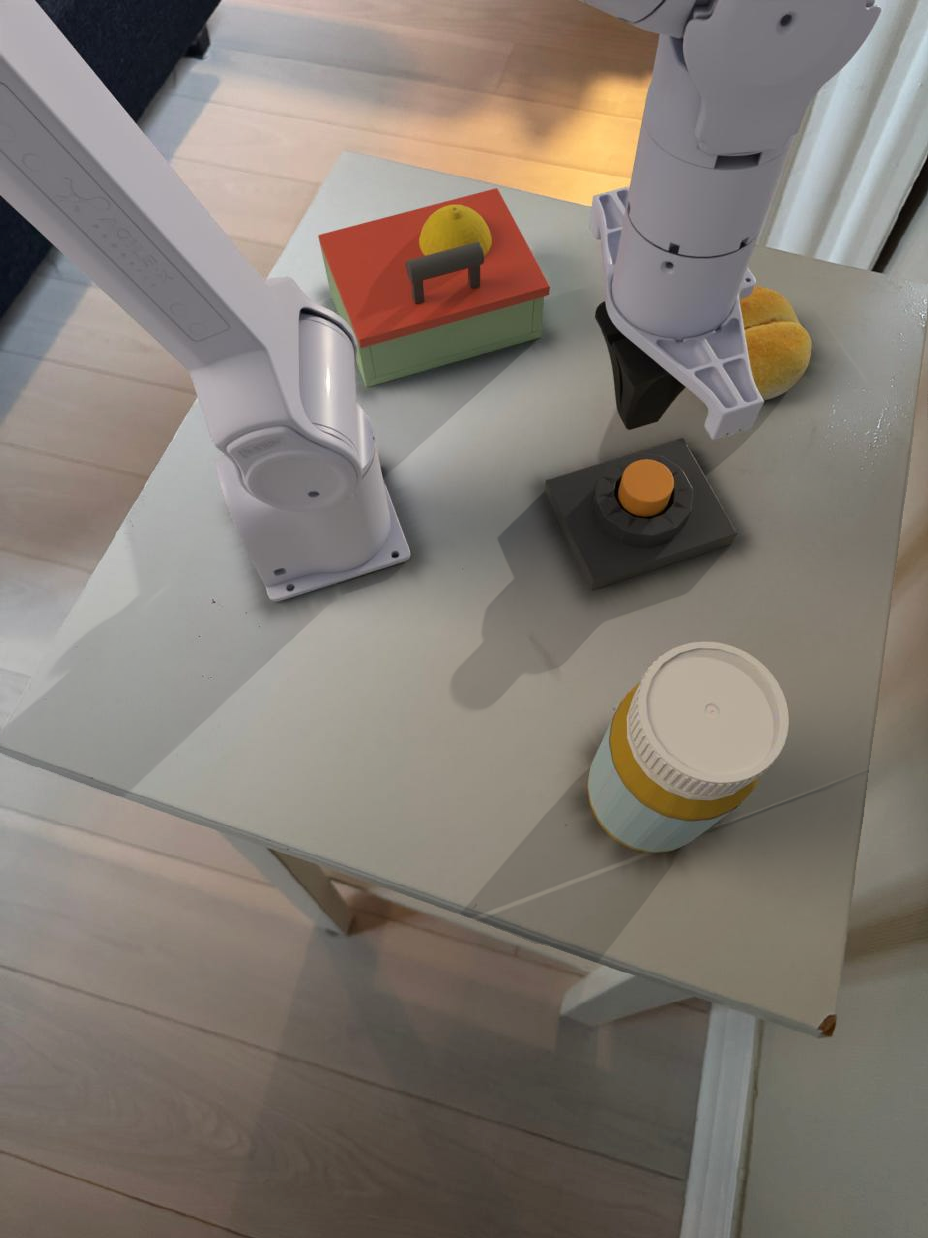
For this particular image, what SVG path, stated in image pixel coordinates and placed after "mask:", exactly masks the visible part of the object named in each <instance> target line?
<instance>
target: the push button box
mask: <svg viewBox="0 0 928 1238" xmlns="http://www.w3.org/2000/svg"><path fill="white" fill-rule="evenodd" d="M646 459H648V460H654V461H657V462H660V463H661V464H663V465H665V466H666V467H667V468H668V469H669V470H670V472H671V473H672V476H673V479H674V488H673V490H672V493H671V496H670V499H669V501H668V504H667V506H666V507H665V509H664V510H663V511H661V512H660V513H658V514H656V515H654V516H649V517H641V516H637V515H634V514H631V513H630V512H628V511H627V510H626V509H625V508H624V507H623V506H622V504H621V503H620V500H619V497H618V491H619V486H620V483H621V479H622V475H623V472H624V471H625V469H626V468H627V467H628V466H629V465H630V464H632V463H633V462H636V461H639V460H646ZM544 494H545V496H546V498H547V500H548V502H549V505H550V507H551V509H552V511H553V513H554V516H555V518H556V520H557V522H558V524H559V526H560V528H561V531H562V533H563V535H564V537H565V540H566V541H567V543H568V546H569V547H570V549H571V552H572V554H573V556H574V558H575V560H576V562H577V565H578V567H579V569H580V571H581V573H582V575H583V577H584V580H585V582H586V584H587V586H588V589H589V590H590V591H594V590H596V589H600V588H603V587H606V586H608V585H612V584H615V583H618V582H621V581H624V580H628V579H630V578H633V577H636V576H639V575H642V574H645V573H648V572H652V571H654V570H657V569H660V568H663V567H667V566H669V565H672V564H676V563H678V562H683V561H685V560H687V559H690V558H693V557H697V556H700V555H703V554H706V553H709V552H712V551H714V550H717V549H722V548H724V547H727V546H730V545H732V544H733V543H734V541H735V539H736V537H737V535H738V532H737V530H736V528H735V526H734V525H733V523H732V521H731V520H730V518H729V516H728V514H727V512H726V511H725V509H724V508H723V506H722V504H721V502H720V499H719V498H718V496H717V495H716V492H715V491H714V490H713V488H712V486H711V484H710V482H709V481H708V478H707V477H706V475H705V474H704V472H703V470H702V469H701V467H700V465H699V463H698V462H697V459H696V458H695V456H694V454H693V453H692V451H691V449H690V447H689V446H688V444H687V442H686V440H685V438H684V437H680V438H677V439H674V440H671V441H668V442H664V443H661V444H659V445H655V446H652V447H648V448H645V449H642V450H639V451H636V452H632V453H629V454H626V455H622V456H620V457H615V458H614V459H609V460H607V461H604V462H601V463H598V464H594V465H590V466H587V467H584V468H581V469H578V470H575V471H572V472H568V473H566V474H562V475H559V476H556V477H552V478H549V479H546V480H545V484H544Z"/></svg>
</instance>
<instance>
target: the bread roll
mask: <svg viewBox="0 0 928 1238" xmlns="http://www.w3.org/2000/svg"><path fill="white" fill-rule="evenodd" d="M740 306H741V312H742V318H743V324H744V330H745V337H746V343H747V349H748V355H749V361H750V367H751V371H752V376H753V379H754V382H755V385H756V387H757V389H758V391H759V393H760V395H761V396H762V398H763V400H764V401H767V400H771V399H774V398H777V397H779V396H781V395H784V393H787V392H788V391H789V390H790V389H791V388H792V387H793V386H796V384H797V383H798V382H799V380H800V379H801V378H803V375H804V374H805V372H806V371H807V368H808V366H809V364H810V360H811V355H812V346H813V344H812V338H811V336H810V334H809V332H808V330H806V329H805V328H804V327H803V326H802V324H801V322H800V321H799V319H798V316H797V314H796V312H795V310H794V309H793V307H792V304H791V303H790V302H789V301H788V300H786V298H784V296H783V295H782V294H781V293H780V292H777V291H775V290H774V289H770V288H767V287H764V286H760V285H755V287H754V289H753V292H752V294H751V295H750V296H748V297H746V298H742V299H740Z"/></svg>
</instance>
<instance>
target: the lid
mask: <svg viewBox="0 0 928 1238" xmlns="http://www.w3.org/2000/svg"><path fill="white" fill-rule="evenodd" d="M448 205H463V206H466V207H469V208H471V209H473V210H474V211H476V212H477V213H478V214H479V215H480V216H481V217H482V218H483V219H484V221H485V222H486V224H487V226H488V228H489V230H490V234H491V237H492V242H491V247H490V249H489V251H488V252H487V254H486V255H485V256H484V253H483V249H482V246H481V244H480V242H474V243H470V244H467V245H463V246H459V247H456V248H452V249H448V250H445V251H441V252H437V253H434V254H430V255H426V256H425V255H424V254H423V253H422V251H421V248H420V246H419V238H420V234H421V231H422V228H423V226H424V224H425V222H426V221H427V220H428V218H429V217H430V216H431V215H432V214H433V213H434V212H435V211H437V210H438V209H440V208H442V207H445V206H448ZM317 238H318V241H319V246H320V245H321V247H320V249H321V248H322V250H323V253H324V256H325V258H326V261H327V263H328V266H329V269H330V271H331V274H332V276H333V279H334V281H335V284H336V287H337V289H338V292H339V294H340V297H341V299H342V302H343V305H344V307H345V310H346V312H347V315H348V317H349V320H350V323H351V325H352V328H353V330H354V333H355V336H356V338H357V341H358V343H359V346H360V348H364V347H368V346H371V345H375V344H378V343H382V342H385V341H389V340H392V339H396V338H399V337H403V336H406V335H410V334H414V333H417V332H421V331H424V330H428V329H431V328H435V327H438V326H442V325H445V324H449V323H452V322H456V321H460V320H463V319H467V318H470V317H474V316H477V315H481V314H484V313H488V312H491V311H495V310H498V309H502V308H506V307H509V306H513V305H516V304H520V303H523V302H527V301H530V300H534V299H537V298H541V297H544V298H545V297H548V296H550V291H551V286H550V284H549V281H548V280H547V277H546V276H545V274H544V271H543V270H542V269H541V267H540V265H539V263H538V261H537V259H536V257H535V256H534V254H533V251H532V250H531V248H530V247H529V244H528V243H527V240H526V238H525V236H524V234H523V233H522V231H521V229H520V228H519V226H518V224H517V222H516V219H515V218H514V215H513V214H512V213H511V211H510V209H509V206H508V205H507V204H506V201H505V199H504V198H503V196H502V193H501V192H500V190H499V188H498V187H495V188H492V189H488V190H484V191H480V192H477V193H472V194H469V195H465V196H461V197H457V198H453V199H450V200H446V201H442V202H439V203H435V204H431V205H427V206H423V207H419V208H416V209H411V210H408V211H404V212H400V213H397V214H393V215H389V216H385V217H381V218H377V219H374V220H370V221H366V222H362V223H358V224H355V225H351V226H348V227H343V228H339V229H335V230H332V231H328V232H325V233H321V234H318V237H317Z"/></svg>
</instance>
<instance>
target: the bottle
mask: <svg viewBox="0 0 928 1238" xmlns="http://www.w3.org/2000/svg"><path fill="white" fill-rule="evenodd" d="M789 716H790V715H789V709H788V704H787V700H786V696H785V694H784V692H783V690H782V688H781V686H780V684H779V682H778V681H777V679H776V678H775V676H774V675H773V674H772V673H771V671H770V670H769V669H768V668H767V667H766V666H765V665H764V664H763V663H762V662H761V661H760V660H758V659H757V658H755V657H754V656H753V655H751V654H750V653H748V652H746V651H745V650H743V649H740V648H738V647H735V646H733V645H730V644H726V643H722V642H716V641H693V642H688V643H684V644H682V645H679V646H676V647H673V648H671V649H670V650H668V651H666V652H664V654H662V655H660V656H659V657H658V658H657V660H654V661H653V662H652V664H651V666H648V668H647V670H646V672H644V675H643V676H642V678H641V680H640V682H638V683H637V684H636V685H635V686H634V687H633V688H632V689H631V690H630V691H629V692H627V693H626V695H625V696H624V697H623V698H622V701H620V703H619V705H618V707H617V709H616V711H615V713H614V714H613V716H612V719H611V720H610V722H609V725H608V727H607V730H606V731H605V734H604V736H603V737H602V740H601V743H600V744H599V747H598V749H597V751H596V754H595V756H594V757H593V759H592V761H591V765H590V768H589V772H588V778H587V789H586V790H587V795H588V801H589V806H590V808H591V811H592V813H593V815H594V816H595V818H596V820H597V823H598V824H599V825H600V827H601V828H602V829H603V830H604V831H605V832H606V833H607V834H608V835H609V836H610V837H611V838H612V839H613V840H615V841H616V842H618V843H619V844H622V845H623V846H625V847H627V848H628V849H631V850H633V851H638V852H644V853H648V854H659V853H669V852H672V851H675V850H678V849H680V848H682V847H683V846H686V845H688V844H690V843H691V842H693V841H694V840H696V839H697V838H698V837H700V835H702V834H704V833H705V832H706V831H707V830H709V829H710V828H712V827H713V826H714V825H715V824H717V823H718V822H720V821H721V820H722V819H724V817H726V816H727V815H728V814H730V813H732V812H733V811H734V810H735V809H737V808H738V807H739V806H740V805H741V804H742V803H743V802H744V801H745V800H746V799H747V798H748V797H749V796H750V794H751V793H752V792H753V791H754V790H755V788H756V786H757V785H758V782H759V780H760V778H761V776H762V774H764V773H765V772H766V771H768V769H769V768H770V767H771V766H773V764H775V761H776V760H777V759H778V758H779V755H780V754H781V752H782V751H783V748H784V746H785V744H786V740H787V737H788V732H789V724H790V721H789V719H790V717H789Z"/></svg>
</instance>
